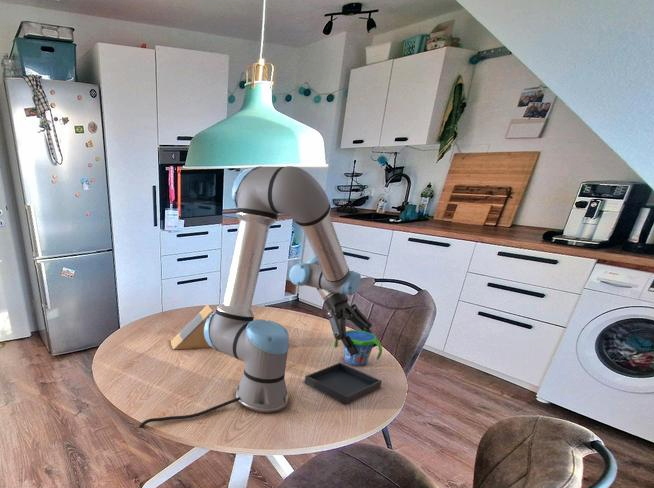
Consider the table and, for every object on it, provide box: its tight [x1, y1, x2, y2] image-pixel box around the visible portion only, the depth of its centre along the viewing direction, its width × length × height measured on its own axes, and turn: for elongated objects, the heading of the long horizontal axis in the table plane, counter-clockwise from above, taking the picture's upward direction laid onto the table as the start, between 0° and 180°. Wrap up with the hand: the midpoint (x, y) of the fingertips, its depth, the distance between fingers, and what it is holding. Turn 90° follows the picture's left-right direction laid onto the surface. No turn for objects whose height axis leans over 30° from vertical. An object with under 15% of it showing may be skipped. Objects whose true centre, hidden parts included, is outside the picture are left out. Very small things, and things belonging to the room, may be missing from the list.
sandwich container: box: [170, 303, 214, 350], centre depth 150 cm, size 9×15×15 cm, turn 98°
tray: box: [304, 362, 383, 405], centre depth 122 cm, size 17×15×2 cm
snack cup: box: [333, 329, 383, 366], centre depth 136 cm, size 16×10×10 cm
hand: (364, 350), depth 133 cm, fingers closed on snack cup, 11 cm apart
